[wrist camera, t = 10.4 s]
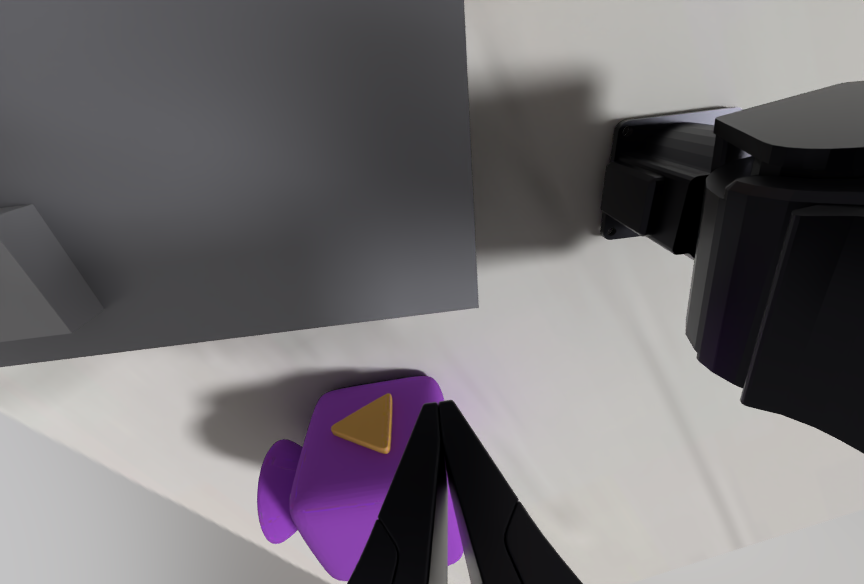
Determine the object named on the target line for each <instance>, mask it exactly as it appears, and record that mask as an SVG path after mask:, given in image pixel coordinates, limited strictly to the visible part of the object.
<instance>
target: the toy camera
mask: <svg viewBox="0 0 864 584" xmlns="http://www.w3.org/2000/svg"><path fill="white" fill-rule="evenodd" d="M440 401H444V398H443V395H442V392H441V389H440V387H439V385H438V383H437V382H436V381H435V380H434V379H433V378H431V377H428V376H416V377H408V378H402V379H396V380H390V381H384V382H377V383H371V384H365V385H359V386H353V387H348V388H342V389H338V390H333V391H330V392H327V393H326V394H324V395H323V396H321V398H320V399H319V401H318V402H317V404H316V407H315V409H314V412H313V415H312V418H311V421H310V424H309V428H308V431H307V434H306V437H305V441H304V444H303V447H302V446H300V445H298V444H297V443H295V442H292V441H290V440H285V439H283V440H279V441H277V442H276V443H275V444H273V446H272V447H271V448H270V449H269V451H268V452H267V454H266V456H265V459H264V461H263V464H262V467H261V471H260V476H259V482H258V494H257V506H258V516H259V522H260V525H261V529H262V531H263V533H264V535H265V537H266V539H267V540H268V541H269V542H271V543H274V544H277V543H282V542H284V541H285V540H287V539H288V538H289V537H291V536H292V535H293V534H294V533H295V532H296V531H297V530H298V531H299V532H300V534H301V536H302V537H303V539H304V540H305V542H306V543H307V545H308V546H309V548H310V549H311V551H312V552H313V554H314V555H315V557H316V558H317V559H318V561H319V562H320V563H321V565H322V566H323V567H324V569H325V570H326V571H327V572H328V573H329V575H331V576H332V577H333V578H335V579H337V580H341V581H349V579H350V577H351V575H352V573H353V571H354V569H355V567H356V565H357V563H358V561H359V559H360V557H361V554H362V552H363V550H364V547H365V545H366V543H367V541H368V538H369V536H370V534H371V531H372V529H373V526H374V524H375V521H376V520H377V519H378V514H379V512H380V509H381V507H382V504H383V502H384V499H385V497H386V494H387V492H388V490H389V487H390V485H391V482H392V480H393V477H394V475H395V472H396V470H397V467H398V465H399V462H400V460H401V457H402V455H403V452H404V450H405V448H406V445H407V443H408V440H409V438H410V435H411V433H412V430H413V428H414V425H415V423H416V420H417V418H418V415H419V413H420V410H421V408H422V406H423V404H424V403H431V402H437V403H438V404H439V402H440ZM446 472H447V471H446ZM447 483H448V478H447ZM462 554H463V546H462V542H461V538H460V533H459V529H458V525H457V520H456V516H455V512H454V507H453V503H452V499H451V494H450V490H449V485H448V566H449V565H451V564H454V563H455V562H457V561H458V560H459V559H460V558H461V556H462Z"/></svg>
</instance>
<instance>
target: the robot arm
mask: <svg viewBox="0 0 864 584" xmlns="http://www.w3.org/2000/svg"><path fill="white" fill-rule="evenodd" d="M627 126H628V129H629V130H628V133H627V134H626V135H623V130H624V128H625V127H627ZM601 210H602V211H603V215H602V223H601V230H600V232H601V235H602V236H603V237H604V238H606V239H608V240H612V239H621V238H629V237H637V236H646V237H648V238H649V239H651V240H652V241H654V242H656V243H657V244H659V245H660V246H662V247H664V248H665V249H667V250H668V251H670V252H672V253H673V254H676V255H679V254H684V255H686V256H688V257H689V258H691V259H693V260H694V266H693V273H692V281H691V288H690V295H689V302H688V309H687V316H686V336H687V337H688V339H689V341H690V343H691V344H692V346H693V348H694V350H695V351H696V352H697V359H698V361H699V362H700V363H702V364H703V365H704V366H705V367H707V368H708V369H709V370H710V371H712V372H713V373H715V374H716V375H718V376H720V377H722V378H723V379H725V380H727V381H729V382H730V383H732V384H734V385H736V386H738V387H741V388H743V391H742V395H741V399H740V401H741V403H742V404H744V405H745V406H748V407H752V408H756V409H760V410H764V411H769V412H773V413H777V414H781V415H784V416H786V417H789V418H791V419H794V420H797V421H799V422H802V423H805V424H807V425H810V426H812V427H815V428H817V429H819V430H821V431H823V432H825V433H827V434H829V435H831V436H833V437H835V438H837V439H839V440H841V441H842V442H844V443H846V444H848V445H850V446H851V447H853V448H855V449H857V450H859V451H860V452H862V453H864V81H856V82H846V83H841V84H837V85H833V86H829V87H826V88H822V89H818V90H815V91H811V92H807V93H803V94H800V95H796V96H792V97H789V98H785V99H781V100H778V101H774V102H770V103H767V104H763V105H759V106H755V107H752V108H748V109H744V110H743V109H741V108H739V107H725V108H717V109H709V110H701V111H693V112H685V113H677V114H669V115H661V116H653V117H645V118H636V119H628V120H623V121H621V122H620V123H618V125H617V126H616V127H615V131H614V137H613V144H612V151H611V158H610V163H609V164H608V165H607V167H606V174H605V182H604V189H603V196H602V204H601ZM610 228H613V230H612V232H610V233H608V230H609V229H610ZM446 471H447V472H446ZM447 478H448V483H447ZM448 485H449V490H450V494H451V499H452V503H453V507H454V512H455V516H456V520H457V525H458V529H459V533H460V538H461V542H462V546H463V551H464V555H465V559H466V564H467V568H468V572H469V576H470V581H471V584H583V583H582V582H581V581H580V580H579V579H578V577H577V576H576V575H575V574H574V573H573V571H572V570H571V569H570V568H569V567H568V565H567V564H566V563H565V562H564V561H563V559H562V558H561V557H560V556H559V554H558V553H557V552H556V551H555V549H554V548H553V547H552V545H551V544H550V543H549V542H548V540H547V539H546V538H545V537H544V535H543V534H542V533H541V531H540V530H539V528H538V527H537V525H536V524H535V523H534V521H533V520H532V518H531V517H530V516H529V514H528V512H527V511H526V509H525V508H524V506H523V505H522V503H521V502H518V498H517V496H516V495H515V493H514V492H513V490H512V489H511V487H510V486H509V484H508V483H507V481H506V480H505V478H504V477H503V475H502V473H501V472H500V470H499V469H498V467H497V466H496V464H495V463H494V461H493V460H492V458H491V457H490V455H489V454H488V452H487V451H486V449H485V448H484V446H483V445H482V443H481V442H480V440H479V439H478V437H477V436H476V434H475V433H474V431H473V430H472V428H471V427H470V425H469V424H468V422H467V421H466V419H465V418H464V416H463V415H462V413H461V412H460V410H459V408H458V407H457V405H456V404H455V402H454V401H453V400H447V401H440V402H439V404H438V403H437V402H431V403H424V404H423V406H422V408H421V410H420V413H419V415H418V418H417V420H416V423H415V425H414V428H413V430H412V433H411V435H410V438H409V440H408V443H407V445H406V448H405V450H404V452H403V455H402V457H401V460H400V462H399V465H398V467H397V470H396V472H395V475H394V477H393V480H392V482H391V485H390V487H389V490H388V492H387V494H386V497H385V499H384V502H383V504H382V507H381V509H380V512H379V514H378V519H377V520H376V521H375V524H374V526H373V529H372V531H371V534H370V536H369V538H368V541H367V543H366V545H365V547H364V550H363V552H362V554H361V557H360V559H359V561H358V563H357V565H356V567H355V569H354V571H353V573H352V575H351V577H350V579H349V581H348V583H347V584H447V570H448Z"/></svg>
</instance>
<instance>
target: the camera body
mask: <svg viewBox="0 0 864 584" xmlns="http://www.w3.org/2000/svg"><path fill="white" fill-rule="evenodd" d="M471 308H479V305H478V285H477V264H476V243H475V222H474V201H473V181H472V160H471V139H470V118H469V98H468V77H467V56H466V35H465V14H464V0H0V367H5V366H13V365H21V364H29V363H37V362H46V361H54V360H62V359H70V358H78V357H86V356H94V355H102V354H110V353H118V352H126V351H134V350H142V349H150V348H158V347H166V346H174V345H182V344H190V343H198V342H206V341H214V340H222V339H230V338H238V337H246V336H254V335H263V334H271V333H279V332H287V331H295V330H303V329H311V328H319V327H327V326H335V325H343V324H351V323H359V322H367V321H375V320H383V319H391V318H399V317H407V316H415V315H423V314H431V313H439V312H447V311H455V310H463V309H471Z"/></svg>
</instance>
